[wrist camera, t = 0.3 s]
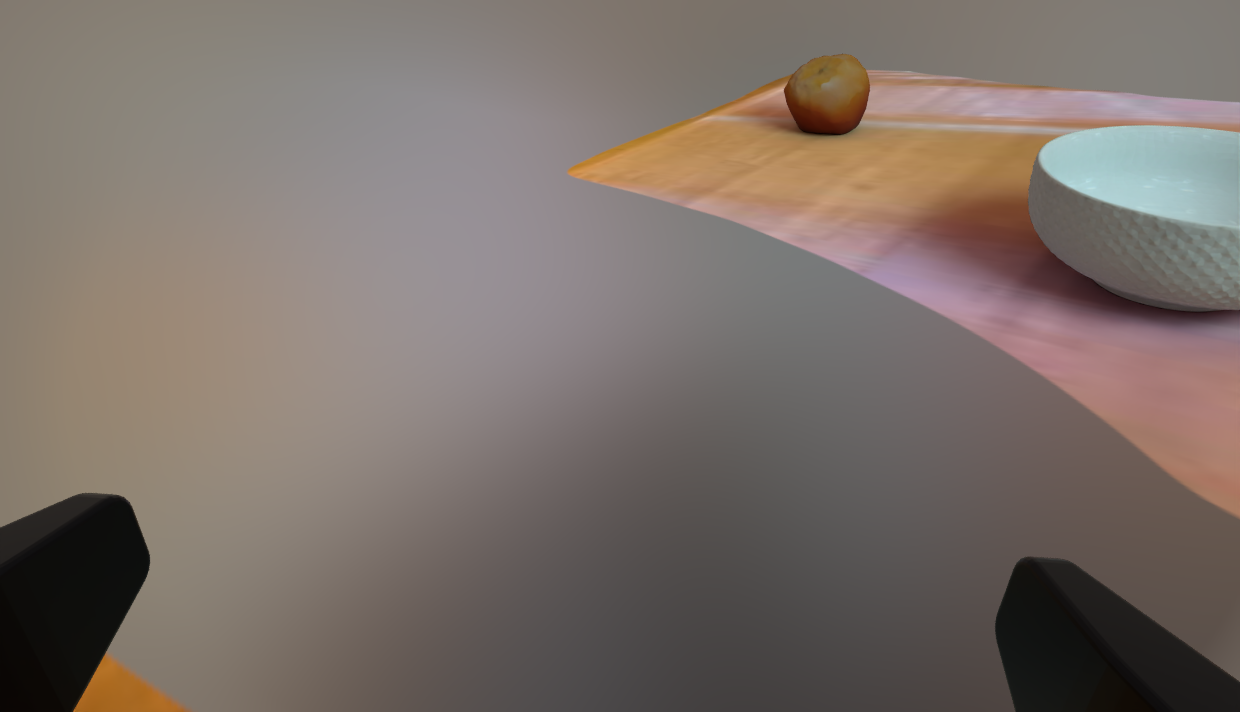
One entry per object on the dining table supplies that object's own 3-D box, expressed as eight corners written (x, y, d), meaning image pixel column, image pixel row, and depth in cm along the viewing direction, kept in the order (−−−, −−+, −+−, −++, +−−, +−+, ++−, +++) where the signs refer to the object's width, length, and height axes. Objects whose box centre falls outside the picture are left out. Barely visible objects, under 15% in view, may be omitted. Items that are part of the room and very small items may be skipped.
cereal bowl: (1210, 392, 35) (1272, 257, 31) (950, 261, 48) (971, 154, 44) (1422, 305, 40) (1499, 180, 36) (1134, 208, 53) (1168, 108, 49)
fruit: (887, 104, 74) (880, 40, 68) (856, 163, 72) (846, 102, 66) (813, 97, 79) (800, 36, 72) (782, 152, 77) (766, 94, 70)
